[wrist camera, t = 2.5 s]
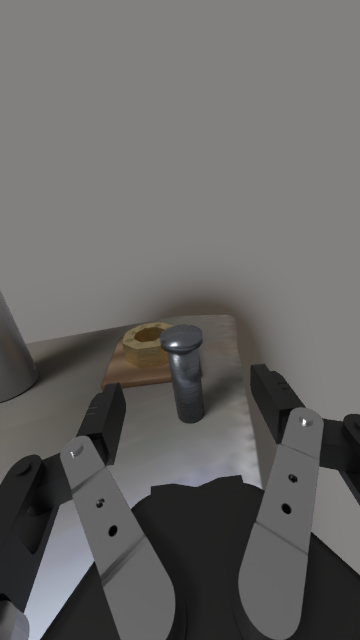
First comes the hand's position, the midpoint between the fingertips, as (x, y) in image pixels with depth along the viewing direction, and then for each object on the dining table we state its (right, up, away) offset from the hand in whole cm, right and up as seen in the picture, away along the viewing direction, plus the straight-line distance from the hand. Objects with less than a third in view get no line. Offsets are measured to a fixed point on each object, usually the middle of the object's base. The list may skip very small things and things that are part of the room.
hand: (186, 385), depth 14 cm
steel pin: (+1, -8, +16) cm, 19 cm away
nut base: (-5, -3, +30) cm, 31 cm away
